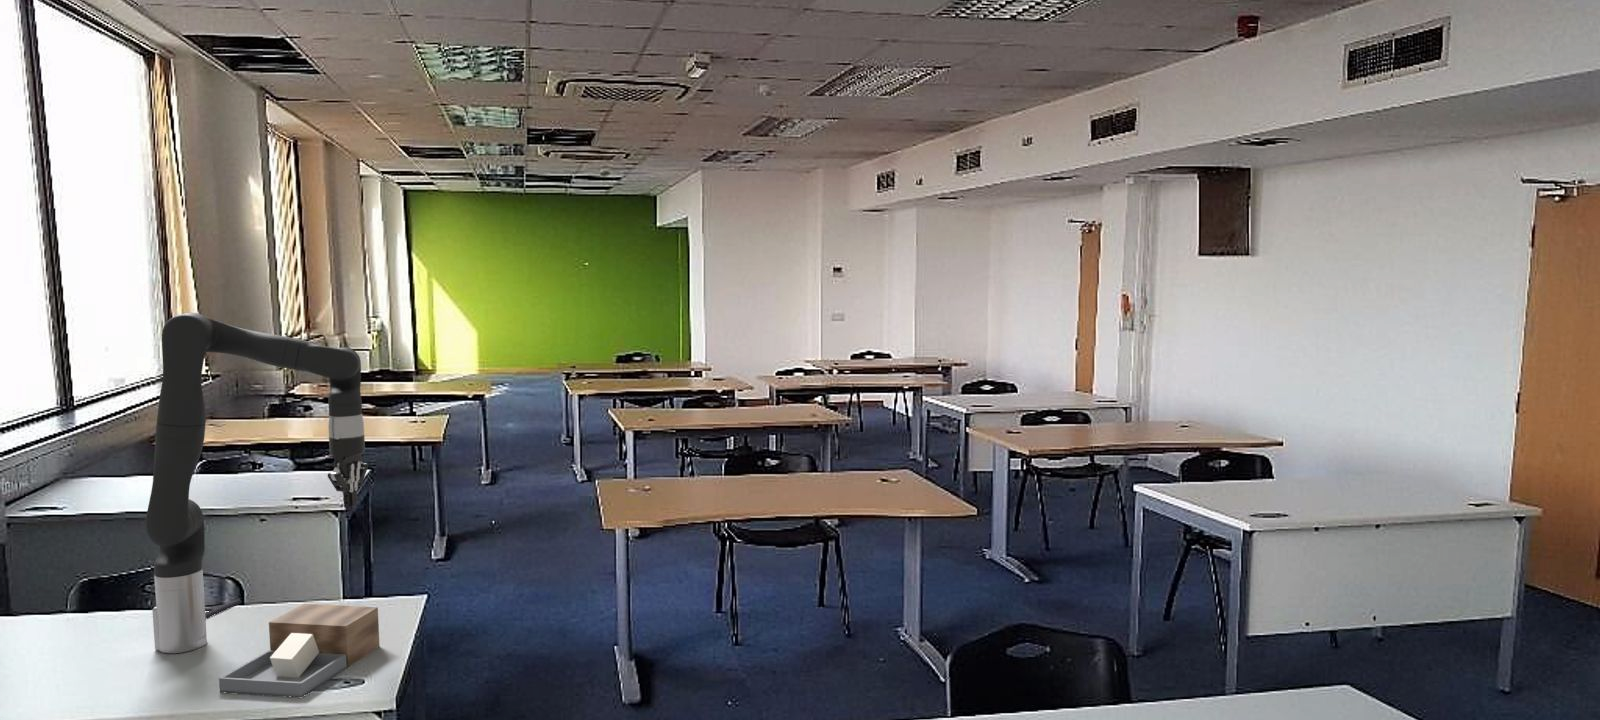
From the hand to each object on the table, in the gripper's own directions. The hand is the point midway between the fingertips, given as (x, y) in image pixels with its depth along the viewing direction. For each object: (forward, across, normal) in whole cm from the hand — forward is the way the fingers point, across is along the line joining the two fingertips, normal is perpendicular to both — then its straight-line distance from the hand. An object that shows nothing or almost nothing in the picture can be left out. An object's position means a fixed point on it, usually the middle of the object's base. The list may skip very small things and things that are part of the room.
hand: (350, 507), depth 236 cm
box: (+29, +30, +3) cm, 42 cm away
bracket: (+30, -6, -47) cm, 56 cm away
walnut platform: (+29, +16, +3) cm, 33 cm away
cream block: (+23, +24, +3) cm, 33 cm away
